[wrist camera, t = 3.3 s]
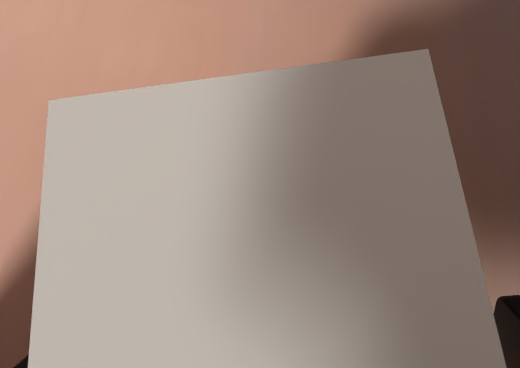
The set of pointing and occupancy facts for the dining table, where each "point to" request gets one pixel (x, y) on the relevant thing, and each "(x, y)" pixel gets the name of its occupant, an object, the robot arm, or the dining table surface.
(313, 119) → the cream block
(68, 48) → the dining table surface
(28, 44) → the dining table surface
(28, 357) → the robot arm
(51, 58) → the dining table surface
